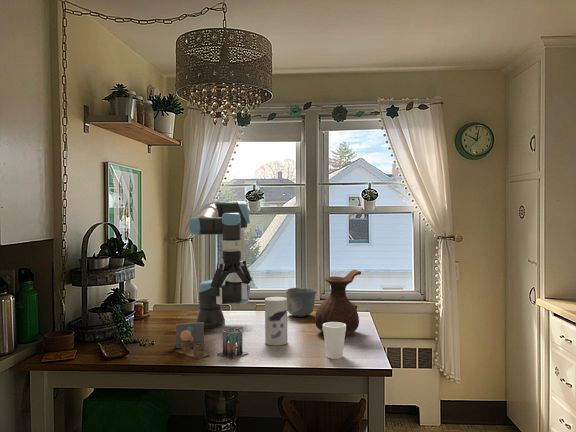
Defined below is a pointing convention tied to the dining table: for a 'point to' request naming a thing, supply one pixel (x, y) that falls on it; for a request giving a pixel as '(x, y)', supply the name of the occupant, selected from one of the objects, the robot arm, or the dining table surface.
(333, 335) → the foam cup
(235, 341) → the teal ball
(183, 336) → the rack ball terracotta
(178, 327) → the grey upright block
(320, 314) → the jug
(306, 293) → the bowl
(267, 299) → the container
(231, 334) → the grey barred cage
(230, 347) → the tube ball
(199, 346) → the rack
